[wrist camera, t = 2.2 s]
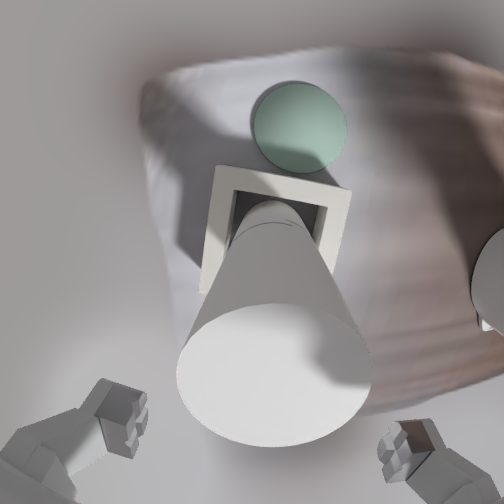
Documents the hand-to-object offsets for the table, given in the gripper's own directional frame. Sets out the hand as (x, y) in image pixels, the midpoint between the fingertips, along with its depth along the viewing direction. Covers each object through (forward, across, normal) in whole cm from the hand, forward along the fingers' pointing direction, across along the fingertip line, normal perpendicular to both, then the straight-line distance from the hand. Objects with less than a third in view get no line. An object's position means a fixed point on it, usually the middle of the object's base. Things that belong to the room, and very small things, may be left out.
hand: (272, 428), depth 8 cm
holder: (+27, 0, 0) cm, 27 cm away
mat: (+27, -1, -12) cm, 29 cm away
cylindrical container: (+27, 0, 0) cm, 27 cm away
